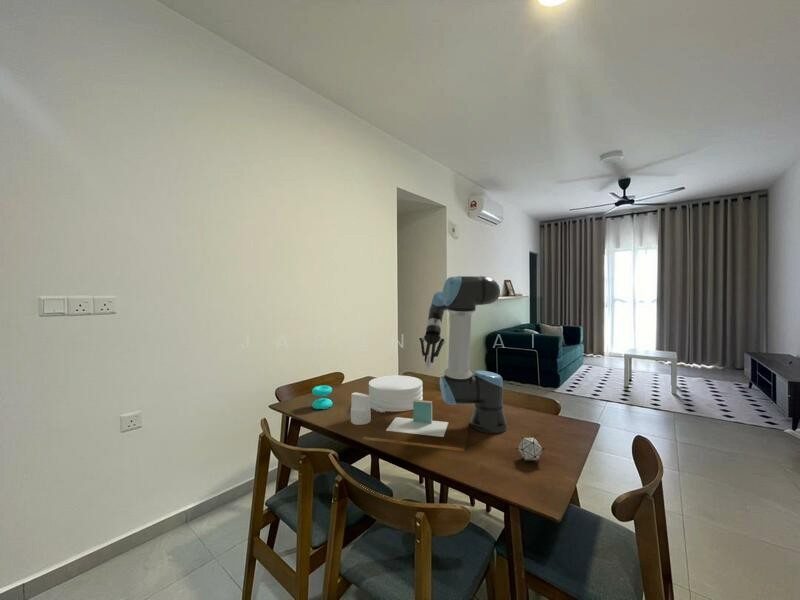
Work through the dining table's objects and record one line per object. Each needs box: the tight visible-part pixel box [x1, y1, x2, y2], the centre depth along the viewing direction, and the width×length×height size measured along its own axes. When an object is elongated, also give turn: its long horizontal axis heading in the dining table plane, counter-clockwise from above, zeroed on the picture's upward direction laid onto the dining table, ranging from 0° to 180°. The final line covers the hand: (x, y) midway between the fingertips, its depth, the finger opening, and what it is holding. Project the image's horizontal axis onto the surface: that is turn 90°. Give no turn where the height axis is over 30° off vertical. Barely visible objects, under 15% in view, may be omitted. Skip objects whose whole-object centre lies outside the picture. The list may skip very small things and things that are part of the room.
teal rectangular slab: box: [412, 399, 433, 423], centre depth 145 cm, size 8×2×9 cm, turn 74°
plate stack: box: [368, 374, 424, 413], centre depth 172 cm, size 28×28×12 cm
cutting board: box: [385, 416, 449, 438], centre depth 140 cm, size 24×15×1 cm, turn 74°
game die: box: [514, 434, 546, 463], centre depth 113 cm, size 9×8×10 cm
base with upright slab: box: [350, 392, 372, 426], centre depth 150 cm, size 9×9×12 cm
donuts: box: [311, 385, 333, 410], centre depth 168 cm, size 10×10×10 cm
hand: (427, 367), depth 157 cm, fingers closed
